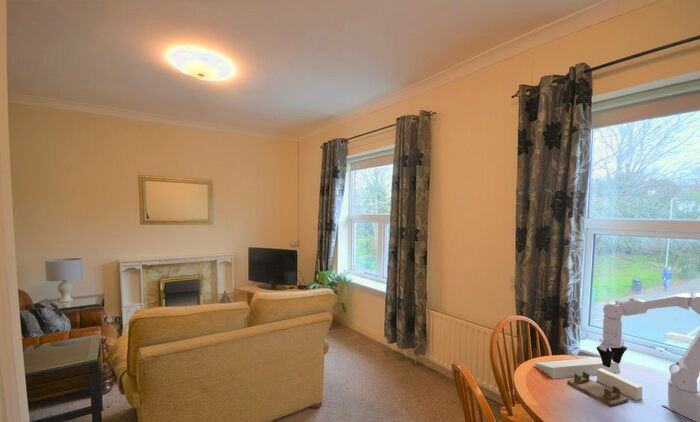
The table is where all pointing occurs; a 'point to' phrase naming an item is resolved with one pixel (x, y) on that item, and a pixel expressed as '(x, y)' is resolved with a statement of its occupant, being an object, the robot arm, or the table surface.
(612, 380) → the cream rectangular block
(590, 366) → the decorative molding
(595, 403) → the table surface
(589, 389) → the walnut rack
